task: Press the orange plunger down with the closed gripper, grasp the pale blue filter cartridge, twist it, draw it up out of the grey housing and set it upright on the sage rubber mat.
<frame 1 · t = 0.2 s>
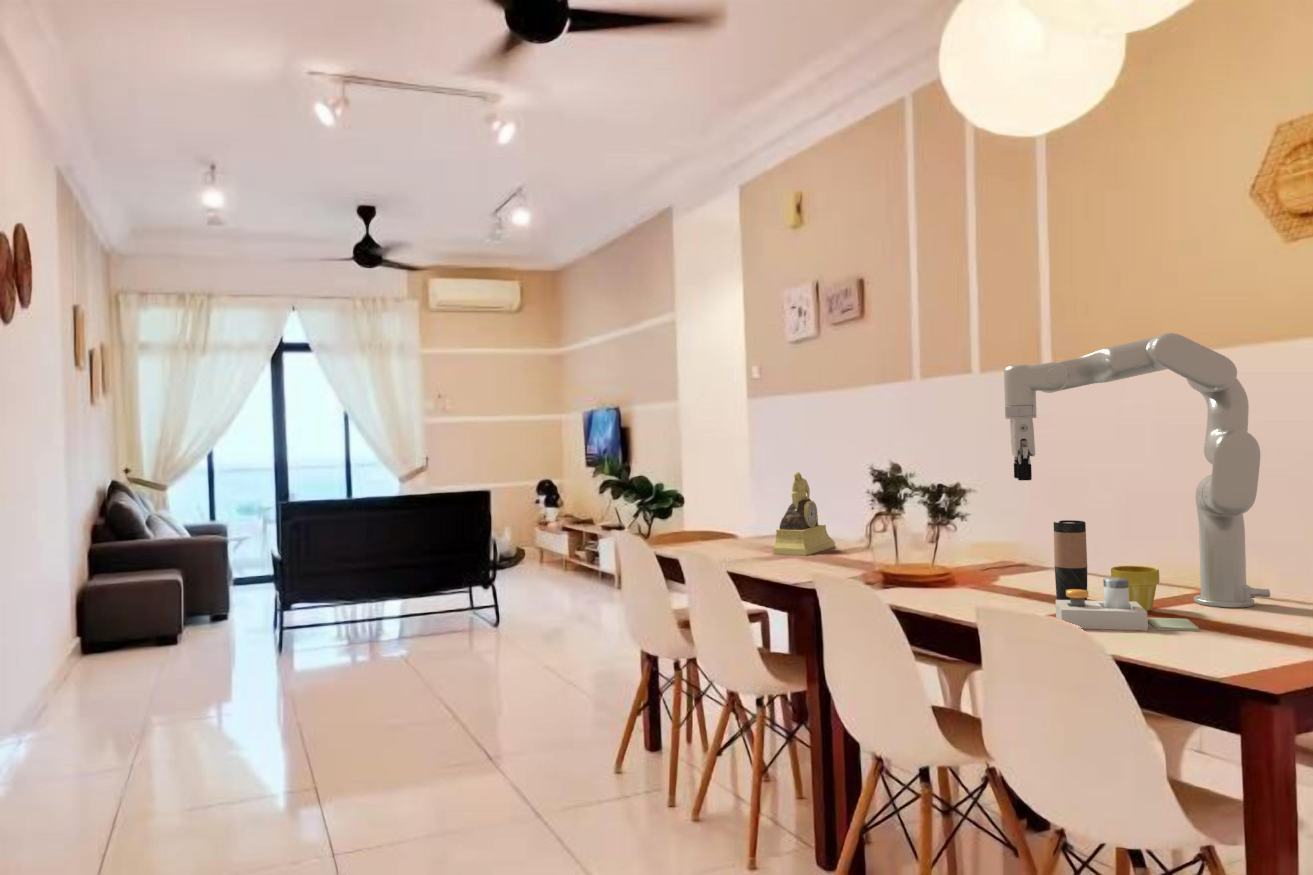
hand: (1022, 479, 236), 31 cm above the table, fingers open, 9 cm apart
plant pot: (1136, 609, 220), on the table
housing: (1099, 623, 205), on the table
cartridge: (1117, 623, 204), resting in housing
mat: (1172, 625, 201), on the table
decorative clock: (805, 550, 346), on the table
travel mug: (1071, 600, 233), on the table
plunger: (1077, 600, 207), point 5 cm above the table, slide at 0.0 cm
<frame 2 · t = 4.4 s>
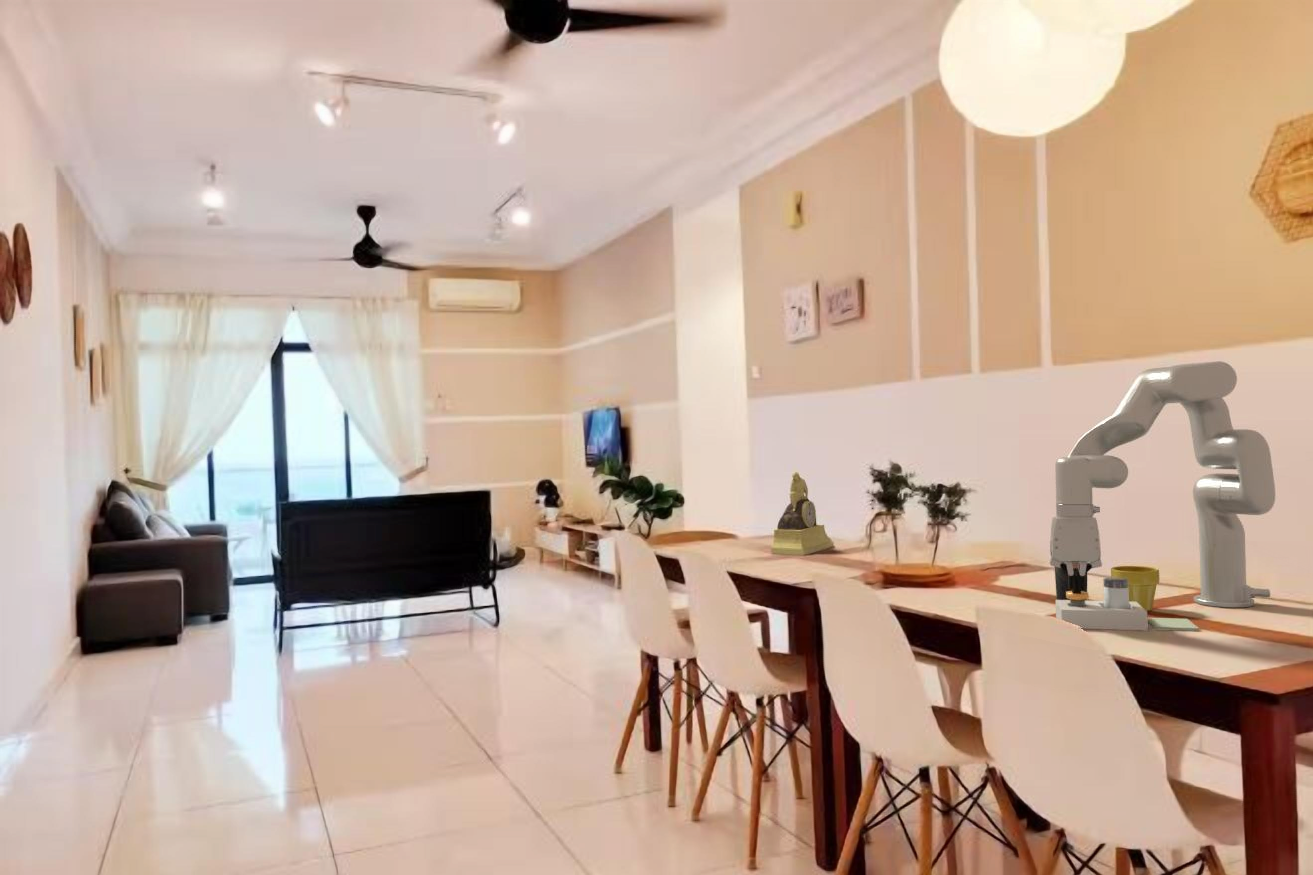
hand: (1076, 592, 206), 7 cm above the table, fingers closed
plunger: (1077, 601, 207), point 5 cm above the table, slide at 0.4 cm, touching gripper
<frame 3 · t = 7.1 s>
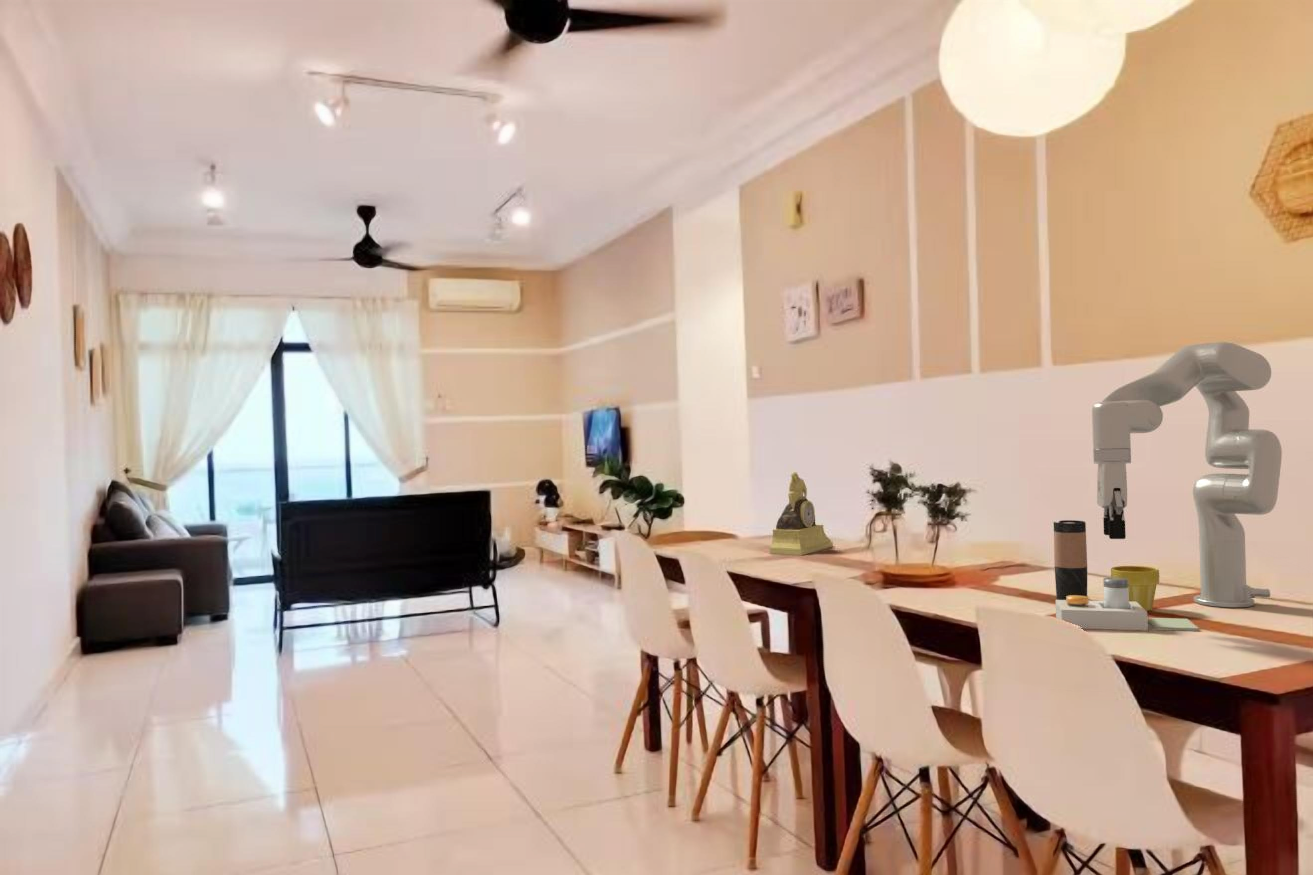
hand: (1114, 536, 204), 20 cm above the table, fingers open, 6 cm apart
plunger: (1077, 606, 207), point 4 cm above the table, slide at 1.4 cm
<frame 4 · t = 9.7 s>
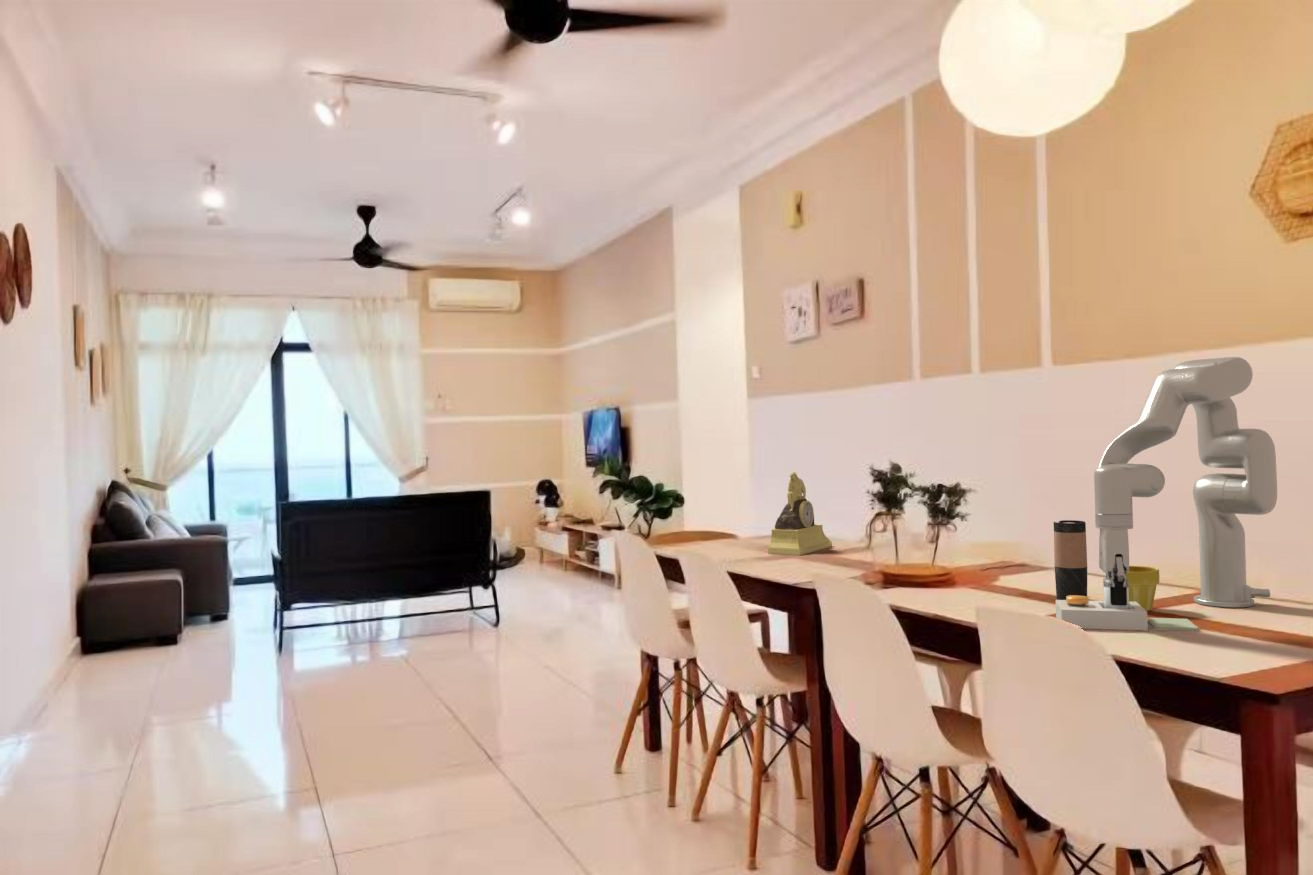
hand: (1116, 601, 204), 5 cm above the table, fingers closed on cartridge, 5 cm apart
cartridge: (1117, 623, 204), resting in housing, touching gripper
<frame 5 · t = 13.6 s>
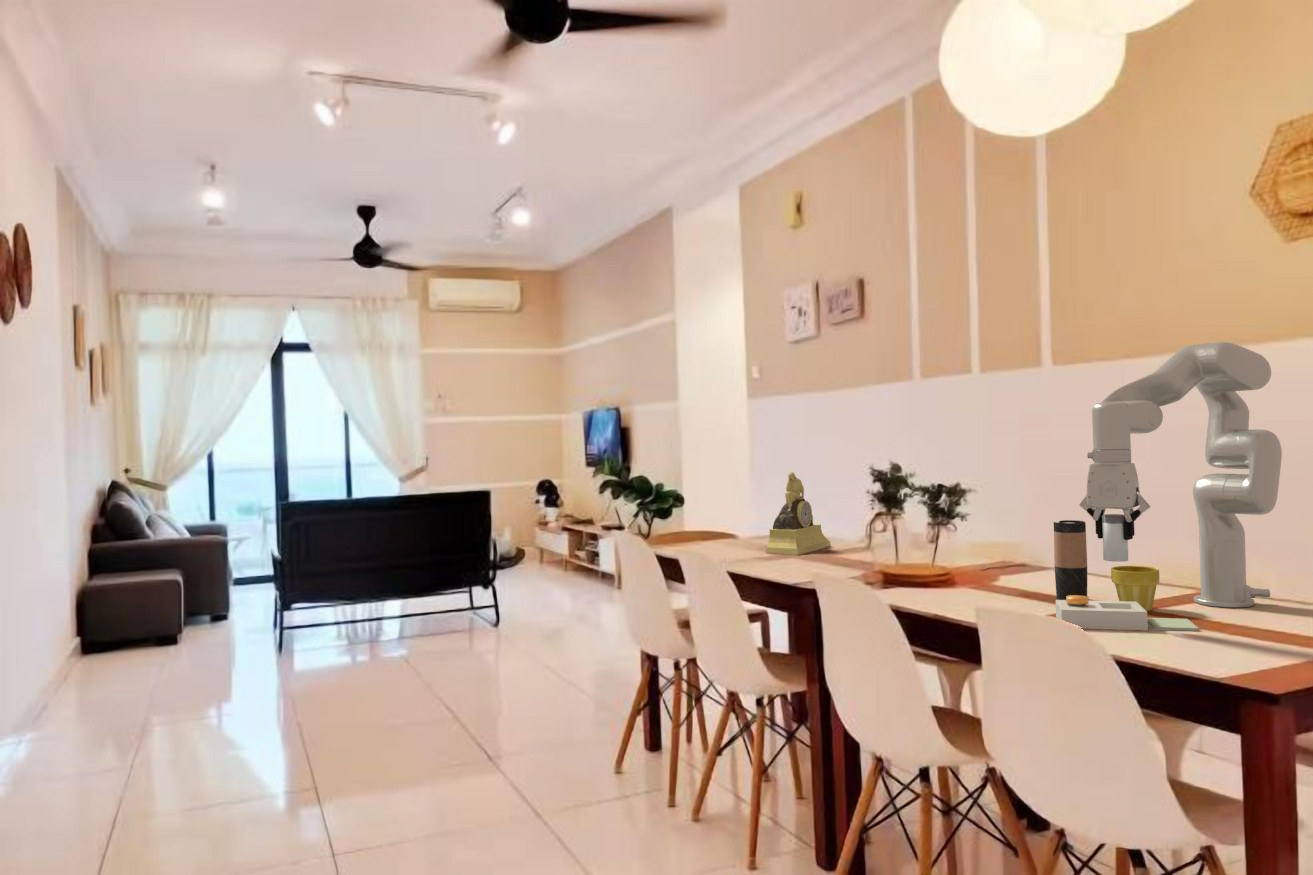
hand: (1115, 537, 204), 19 cm above the table, fingers closed on cartridge, 5 cm apart
cartridge: (1115, 559, 204), point 14 cm above the table, touching gripper
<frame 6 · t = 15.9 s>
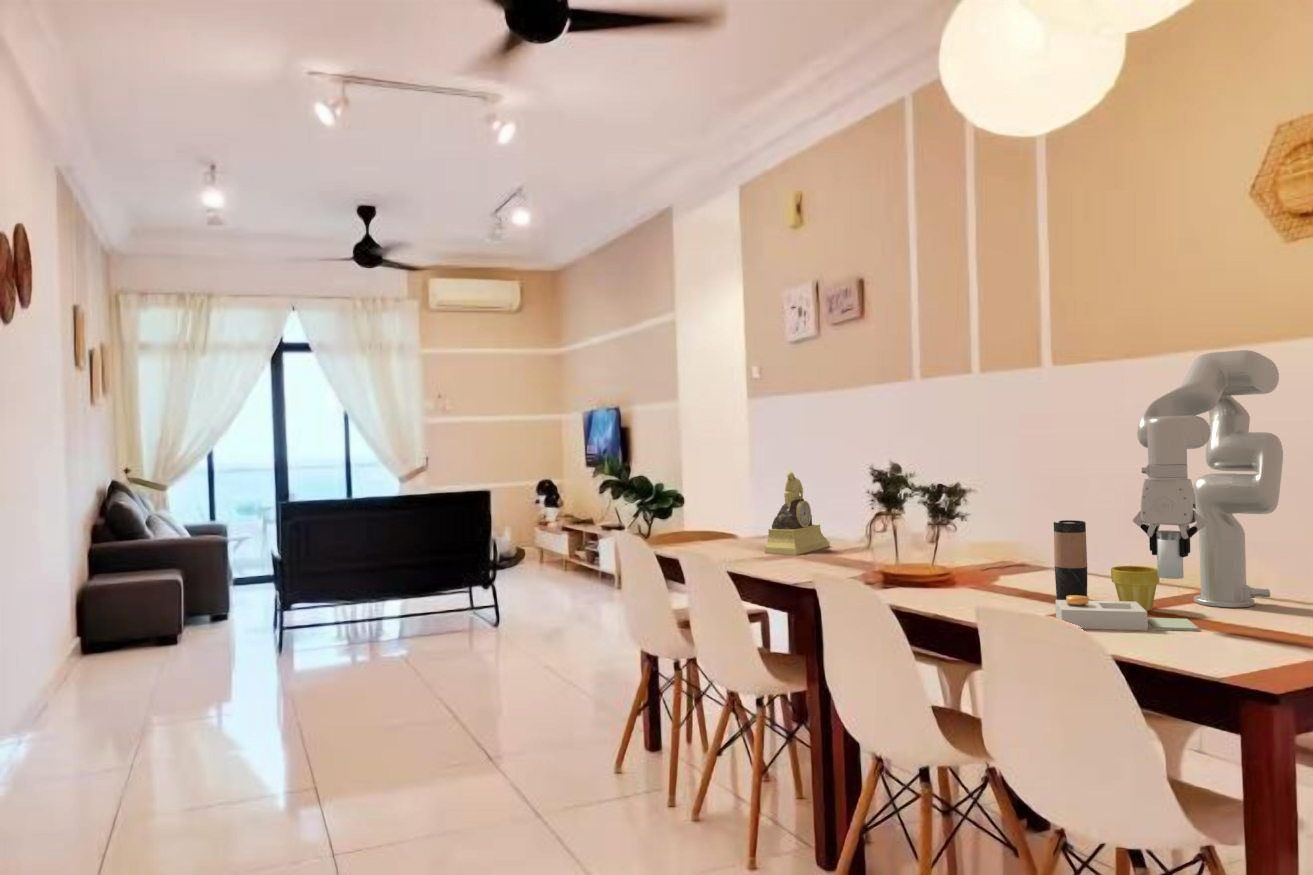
hand: (1169, 554, 201), 16 cm above the table, fingers closed on cartridge, 5 cm apart
cartridge: (1170, 577, 201), point 11 cm above the table, touching gripper
when the fingers open (7 cm above the table, at t = 17.7 s): cartridge drops 2 cm, resting on mat.
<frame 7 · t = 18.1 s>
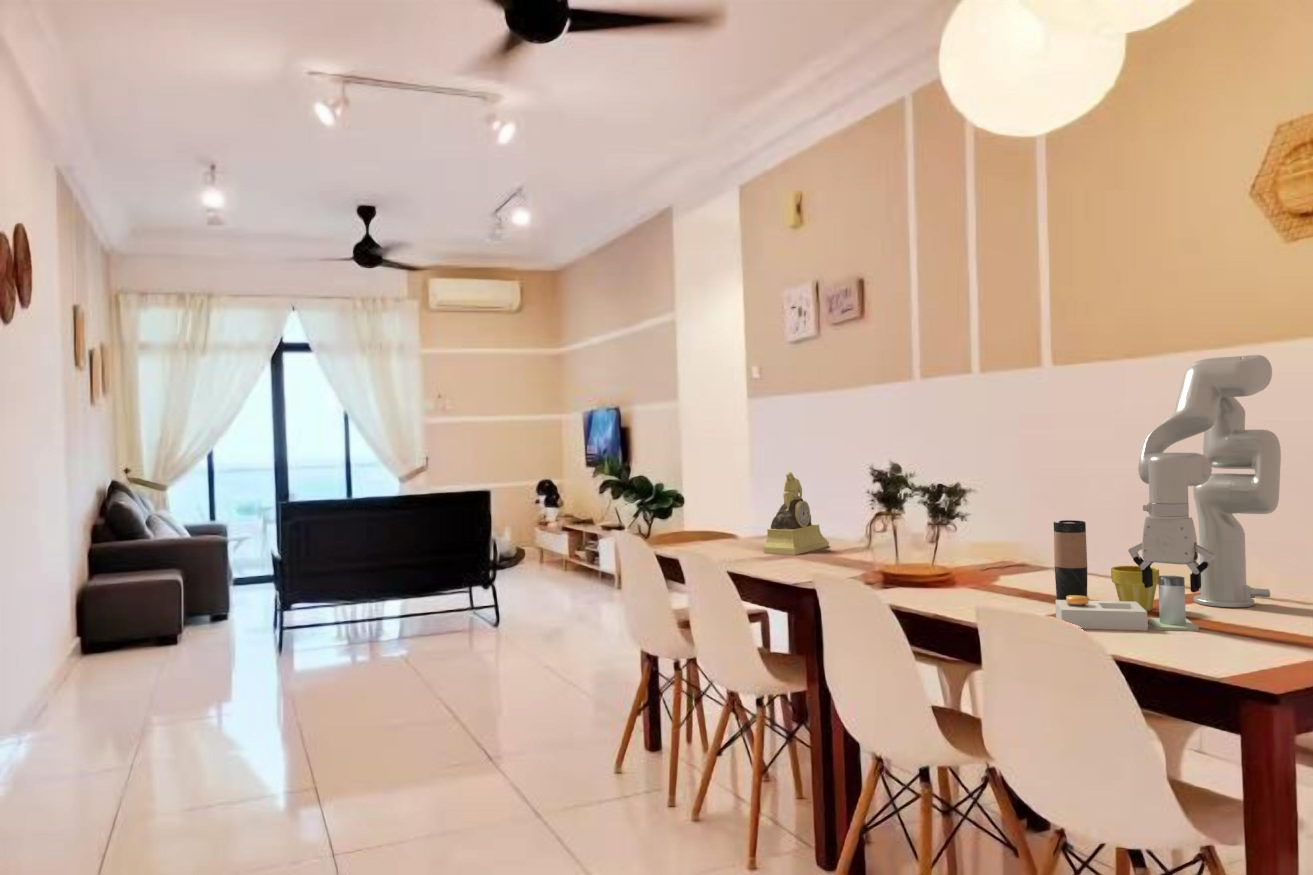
hand: (1171, 589, 201), 8 cm above the table, fingers open, 9 cm apart
cartridge: (1172, 622, 201), point 1 cm above the table, touching mat
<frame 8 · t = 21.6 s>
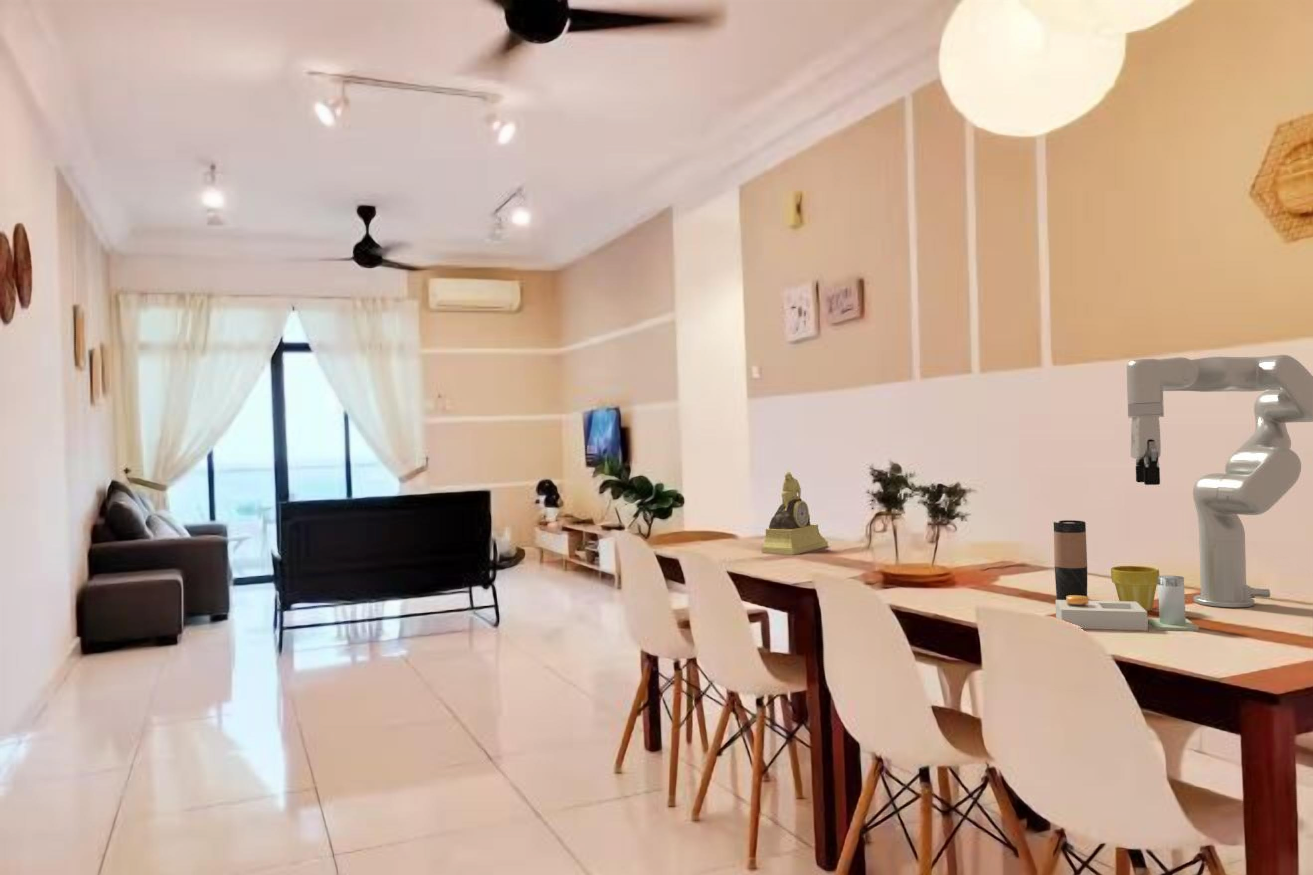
hand: (1147, 483, 217), 30 cm above the table, fingers open, 9 cm apart
at the end: plunger slide at 1.4 cm; cartridge inside the target area on the mat (0.1 cm from its centre), point 0.6 cm above the mat's base; cartridge tilted 1° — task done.
